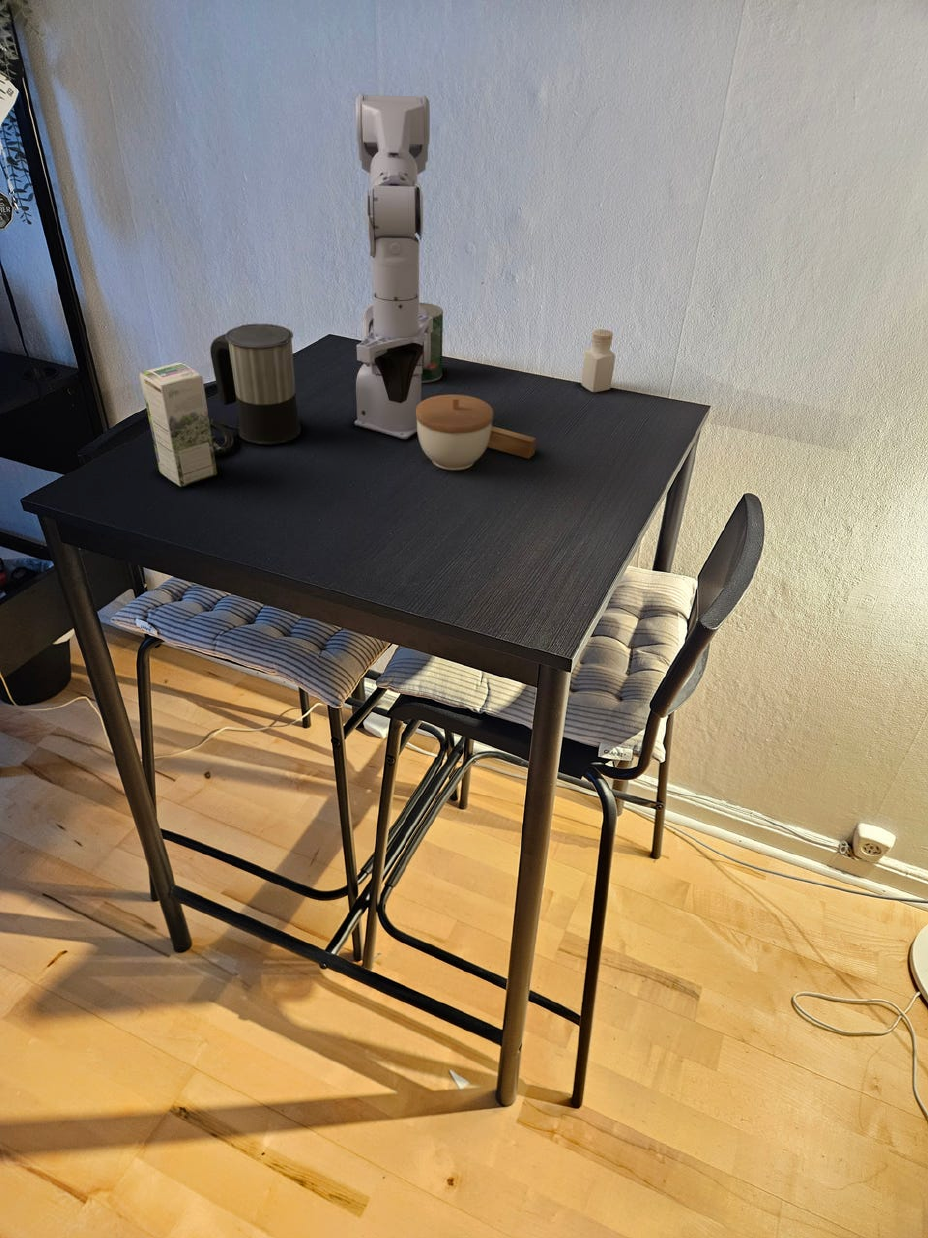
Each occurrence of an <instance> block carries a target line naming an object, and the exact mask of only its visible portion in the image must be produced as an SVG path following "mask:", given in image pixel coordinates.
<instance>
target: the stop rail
mask: <svg viewBox="0 0 928 1238" xmlns="http://www.w3.org/2000/svg"><path fill="white" fill-rule="evenodd" d="M536 440H537V438H536V437H533V436H530V435H525V434H522V433H518V432H515V431H511V430H507V429H503V428H500V427H496V426H493V425H492V429H491V435H490V440H489V443H488V446H487V448H490V449H493V450H497V451H499V452H504V453H506V454H510V455H514V456H516V457H517V456H518V457H521V458H524V459H530V458H531V457H533V456H534V455H535V451H536Z"/></svg>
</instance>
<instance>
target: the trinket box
mask: <svg viewBox="0 0 928 1238" xmlns="http://www.w3.org/2000/svg"><path fill="white" fill-rule="evenodd" d="M416 418H417V432H416V433H417V438H418V442H419V445H420V447H421V450H422V451H423V453H424V454H425V456H426V457H427V458H428V459H429V460H431V462H432V464H433V465H434V466H436V467H438V468H440V469H443V470H447V471H461V470H462V471H463V470H466V469H469V468H471V467H472V466H473V465H474V464H475V462H477V461H478V460H479V459H480V458H481V457H482V456H483V454H485V451H486V450H487V449H488V447H487V446H488V443H489V440H490V435H491V429H492V426H493V420H494V409H493V408H492V406H491V405H490V404H489V403H488V402H486V401H484V400H483V399H480V398H479V397H478V398H477V397H474V396H470V395H465V394H451V393H450V394H439V395H435V396H430V397H428V398H426V399H424V400H421V403H419V405H418V406H417V408H416Z"/></svg>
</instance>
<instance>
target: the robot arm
mask: <svg viewBox="0 0 928 1238" xmlns="http://www.w3.org/2000/svg"><path fill="white" fill-rule="evenodd" d="M430 107H431V106H430V100H429V98H428V97H427V96H426V94H424V95H423V94H422V95H421V96H418V95H417V96H412V95H386V94H385V95H384V94H383V95H382V94H381V95H380V94H364V93H361V92H360V93H358V96H356V98H355V126H356V142H357V144H358V159H359V161H360V164H361V165H360V166H361V169H362V170H363V171H365V172H366V173H368V174H369V175H370V177H369V179H370V180H369V182H370V185H369V189H367V190H366V193H365V218H366V231H367V232H366V233H367V236H368V237H367V238H368V244H369V256H370V257H371V286H372V291H371V292H372V303H371V304H370V305H368V306H367V307H366V308H365V309H364V313H363V314H362V326H361V342H359V343H358V344H356V360H357V361H359V362H362V363H363V365H361V367H359V370H358V372H357V376H356V379H355V395H356V396H355V397H356V416H357V417H356V420H355V421H354V425H355V426H358V427H362V428H365V429H368V430H372V431H375V432H378V433H381V434H385V435H389V436H392V437H396V438H399V439H402V440H407V439H409V438H410V437H411V436H413V435H415V434H416V433H418V432H417V418H416V408H417V406H418V405H419V403H421V402H422V383H421V374H422V365H423V367H425V368H426V367H427V366H428V365H429V364H430V359H431V332H433V317H429V315H428V314H427V310H426V309H425V308H423V307H422V306H421V305H420V304H419V303H420V241H422V237H423V233H424V195H423V191H422V187H421V184H420V183H419V179H418V176H419V175H420V174H422V173H423V172H425V171H426V169H427V163H428V162H429V145H430V139H431V136H430V134H431V122H430V121H431V111H430V110H431V108H430ZM416 234H417V235H418V237H419V238H418V237H417V235H416Z"/></svg>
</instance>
